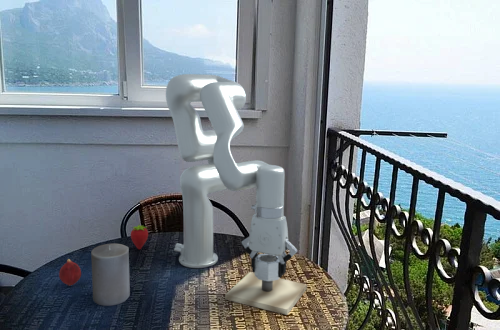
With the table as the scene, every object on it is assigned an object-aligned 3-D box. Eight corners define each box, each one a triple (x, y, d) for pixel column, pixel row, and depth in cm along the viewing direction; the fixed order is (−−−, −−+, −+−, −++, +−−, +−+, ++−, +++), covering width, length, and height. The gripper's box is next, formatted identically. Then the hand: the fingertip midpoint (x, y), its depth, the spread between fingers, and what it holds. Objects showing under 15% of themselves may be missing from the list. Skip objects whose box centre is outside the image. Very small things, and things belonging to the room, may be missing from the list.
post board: (225, 299, 125) (225, 277, 124) (249, 276, 139) (250, 256, 138) (287, 314, 118) (288, 291, 116) (306, 289, 132) (307, 268, 131)
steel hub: (251, 277, 125) (251, 260, 124) (261, 268, 132) (261, 251, 131) (275, 282, 122) (275, 265, 121) (284, 273, 129) (284, 256, 128)
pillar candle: (88, 294, 126) (85, 243, 123) (122, 285, 132) (120, 236, 128) (100, 310, 118) (98, 255, 115) (136, 299, 124) (134, 247, 121)
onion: (86, 283, 132) (84, 257, 131) (70, 292, 127) (69, 265, 126) (71, 279, 135) (69, 253, 133) (55, 287, 130) (53, 261, 128)
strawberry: (148, 244, 163) (148, 217, 161) (148, 253, 155) (147, 224, 153) (131, 245, 162) (131, 218, 160) (130, 253, 154) (129, 225, 152)
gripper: (234, 210, 124) (234, 272, 127) (295, 219, 117) (293, 284, 120) (246, 203, 130) (245, 262, 134) (304, 211, 123) (302, 273, 127)
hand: (268, 272), depth 127 cm, fingers closed on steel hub, 7 cm apart
